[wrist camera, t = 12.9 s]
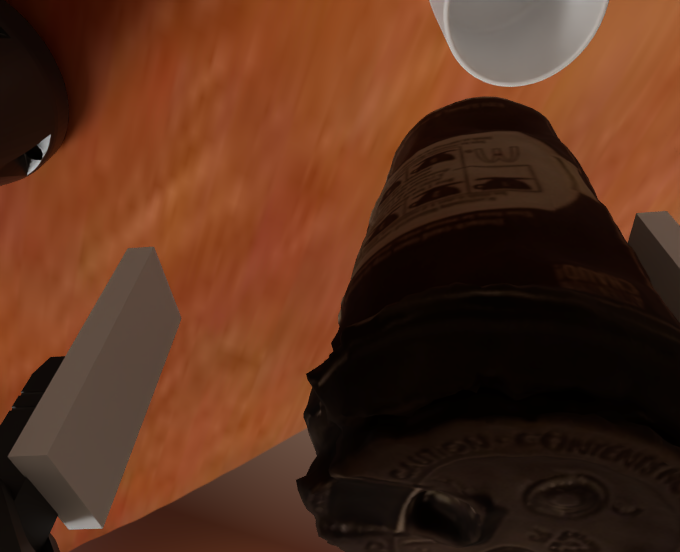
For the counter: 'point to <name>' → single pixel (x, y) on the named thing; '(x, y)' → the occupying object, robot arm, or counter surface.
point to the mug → (517, 36)
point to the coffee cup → (496, 359)
